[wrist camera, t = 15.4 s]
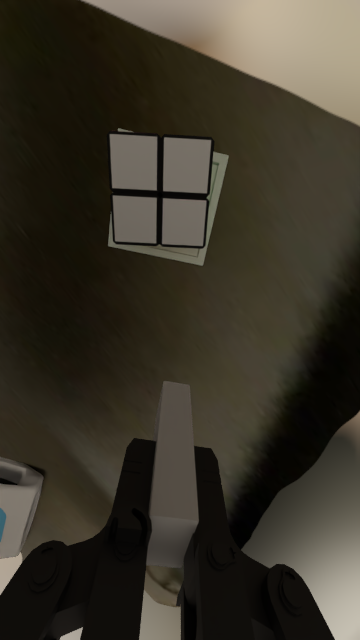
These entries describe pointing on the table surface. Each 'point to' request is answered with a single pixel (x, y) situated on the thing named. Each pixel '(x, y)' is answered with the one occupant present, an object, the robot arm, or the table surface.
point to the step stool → (17, 504)
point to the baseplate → (199, 254)
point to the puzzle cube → (159, 188)
